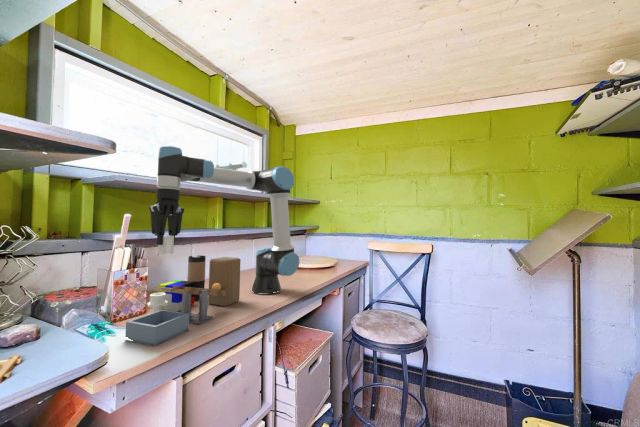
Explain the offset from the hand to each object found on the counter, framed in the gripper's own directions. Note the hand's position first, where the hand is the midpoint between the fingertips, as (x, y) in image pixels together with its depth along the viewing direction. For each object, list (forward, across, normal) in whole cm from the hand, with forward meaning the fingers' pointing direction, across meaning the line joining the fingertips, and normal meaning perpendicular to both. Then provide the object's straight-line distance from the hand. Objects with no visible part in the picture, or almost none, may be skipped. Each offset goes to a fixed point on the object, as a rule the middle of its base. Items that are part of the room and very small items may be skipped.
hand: (165, 253), depth 96 cm
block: (+25, -28, +4) cm, 38 cm away
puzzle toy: (+25, -16, -11) cm, 32 cm away
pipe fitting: (+25, -6, -9) cm, 27 cm away
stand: (+25, -6, +8) cm, 27 cm away
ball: (+15, -18, +8) cm, 25 cm away
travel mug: (+25, -30, -13) cm, 41 cm away
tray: (+25, +8, +8) cm, 27 cm away
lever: (+16, -9, +4) cm, 19 cm away
